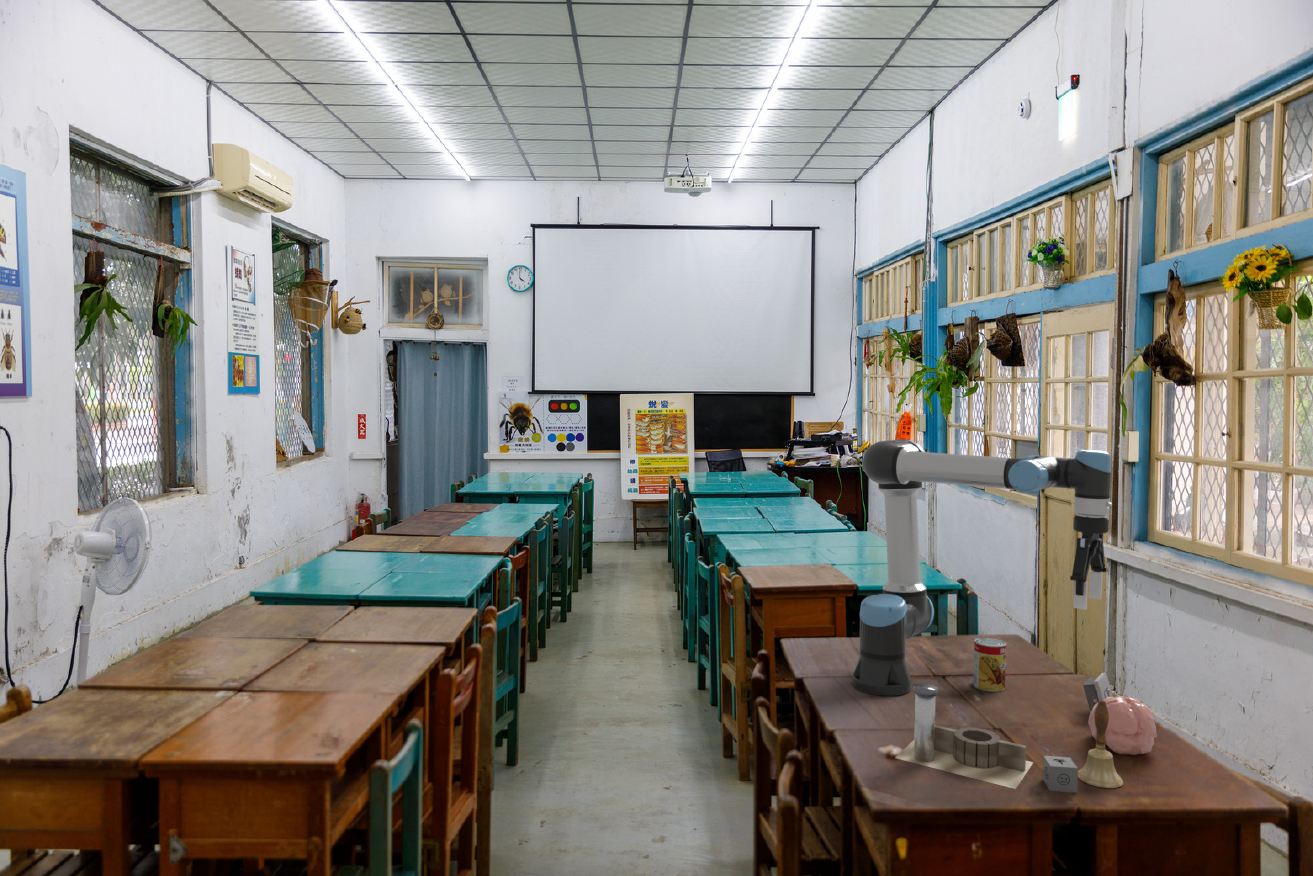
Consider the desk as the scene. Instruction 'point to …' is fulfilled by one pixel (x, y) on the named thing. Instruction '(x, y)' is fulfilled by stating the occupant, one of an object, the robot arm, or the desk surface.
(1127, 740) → the brain
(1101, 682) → the electrical switch
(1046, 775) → the dice cube
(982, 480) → the robot arm
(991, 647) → the canned food
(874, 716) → the desk surface
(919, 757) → the pin
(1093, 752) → the hand bell
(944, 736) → the hinge board
